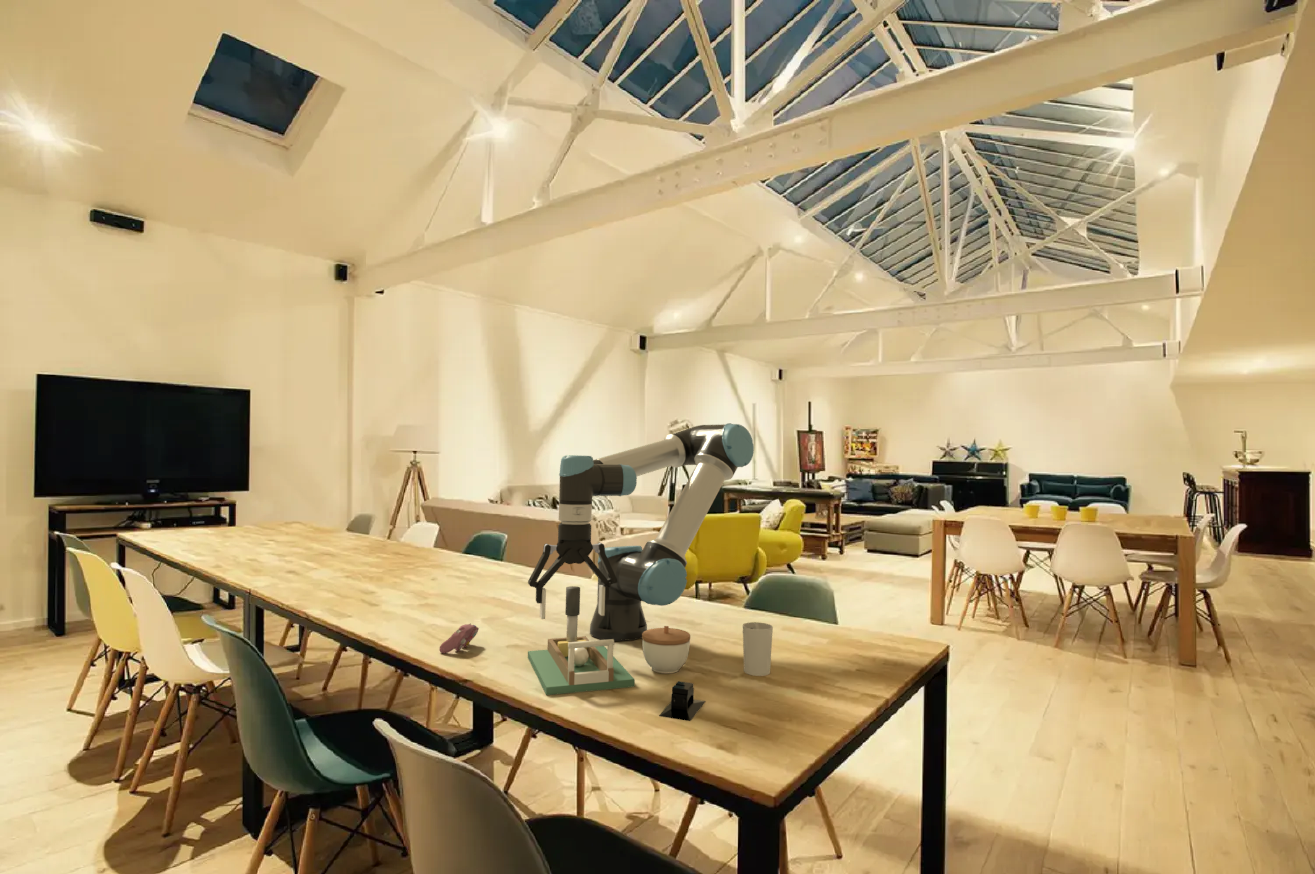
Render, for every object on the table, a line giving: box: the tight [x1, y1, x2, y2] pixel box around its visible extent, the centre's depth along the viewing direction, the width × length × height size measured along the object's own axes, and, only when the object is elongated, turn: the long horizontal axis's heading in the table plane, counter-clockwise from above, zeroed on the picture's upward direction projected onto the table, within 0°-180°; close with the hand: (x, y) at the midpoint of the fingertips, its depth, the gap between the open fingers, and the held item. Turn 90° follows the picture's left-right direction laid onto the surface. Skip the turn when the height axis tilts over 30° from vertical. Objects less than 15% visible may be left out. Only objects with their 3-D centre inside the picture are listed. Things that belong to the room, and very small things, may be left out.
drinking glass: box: [742, 621, 774, 677], centre depth 145 cm, size 7×7×10 cm
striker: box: [558, 585, 587, 657], centre depth 149 cm, size 6×3×15 cm, turn 109°
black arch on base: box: [658, 680, 706, 722], centre depth 122 cm, size 13×8×5 cm, turn 161°
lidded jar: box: [641, 625, 691, 674], centre depth 145 cm, size 11×11×9 cm
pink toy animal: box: [439, 623, 479, 654], centre depth 157 cm, size 10×5×7 cm, turn 169°
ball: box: [574, 648, 589, 666], centre depth 141 cm, size 4×4×4 cm
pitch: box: [527, 635, 636, 696], centre depth 142 cm, size 18×25×10 cm
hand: (572, 616), depth 149 cm, fingers open, 13 cm apart
